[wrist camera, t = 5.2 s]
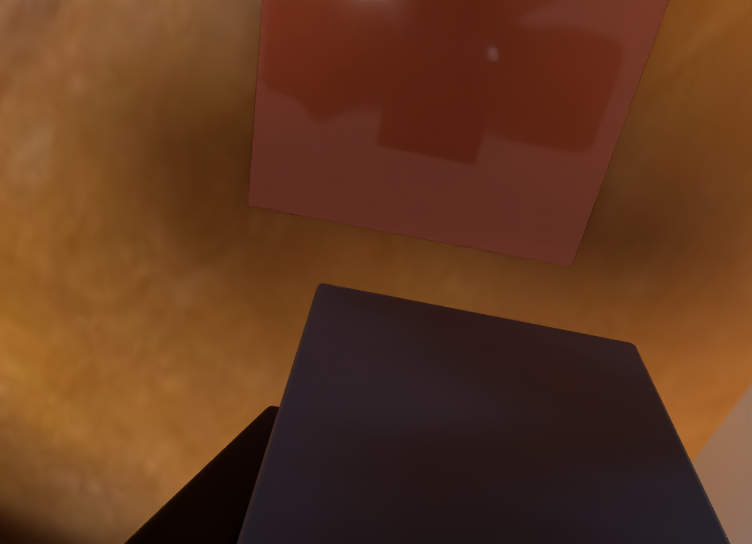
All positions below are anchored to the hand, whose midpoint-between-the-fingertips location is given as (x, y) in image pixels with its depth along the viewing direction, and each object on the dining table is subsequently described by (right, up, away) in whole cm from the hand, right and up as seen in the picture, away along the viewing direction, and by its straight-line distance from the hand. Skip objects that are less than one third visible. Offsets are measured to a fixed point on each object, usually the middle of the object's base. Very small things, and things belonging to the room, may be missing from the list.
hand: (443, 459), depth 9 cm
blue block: (0, 0, +1) cm, 1 cm away
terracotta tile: (+1, +8, +8) cm, 12 cm away
